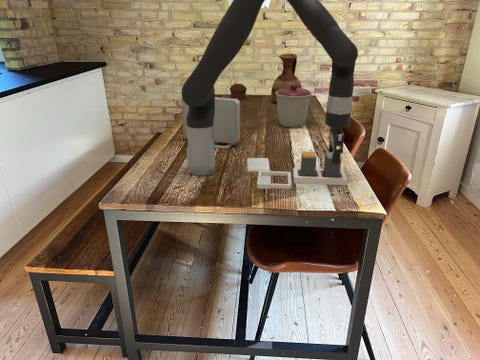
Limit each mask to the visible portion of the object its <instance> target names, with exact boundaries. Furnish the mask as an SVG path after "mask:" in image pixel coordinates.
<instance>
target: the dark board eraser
mask: <svg viewBox="0 0 480 360" xmlns="http://www.w3.org/2000/svg"><path fill="white" fill-rule="evenodd" d="M332 157H333V152H329V151H326V153H325V156H324V165H323V169H324V173H323V177H333V178H339V174H340V170H341V164H342V156H341V155H340V162H339V164H332Z"/></svg>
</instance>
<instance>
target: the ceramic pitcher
mask: <svg viewBox="0 0 480 360" xmlns="http://www.w3.org/2000/svg"><path fill="white" fill-rule="evenodd" d="M278 57H279V59H280V60H281V61H282V72H281V74H279V75H278V76H277V77H276V78H275V80H274V81H273V83H272V86H271V92H270V93H271V99H272V100H273V101H274V102H276V103H277V95H276V93H275V92H276V91H278V90H279V89H282V88H291V84H292V83H296V84H297V85H298V87H297V88H303V87H302V84H301V82H300V80H299V79H298V76H296V75H295V73H296V68H297V63H298V55H297V54H295V53H283V54H281V55H279V56H278Z"/></svg>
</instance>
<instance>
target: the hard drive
mask: <svg viewBox="0 0 480 360" xmlns="http://www.w3.org/2000/svg"><path fill="white" fill-rule="evenodd" d="M246 160H247V163H246V164H247V166H246V167H247V172H248V173H259V171H271V168H270V161H269V158H268V157H248V158H247V159H246Z"/></svg>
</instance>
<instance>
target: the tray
mask: <svg viewBox="0 0 480 360" xmlns="http://www.w3.org/2000/svg"><path fill="white" fill-rule="evenodd" d="M291 172H292V171H276V170H270V171H259V172H257V173H258V174H257V180H256V181H257V182H256V189H259V190H260V189H261V190H262V189H263V190H271V189H284V190H291V189H292V175H291V174H292V173H291ZM272 176H277V177H278V176H281V177H282V176H283V177H287V183H272Z"/></svg>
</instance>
